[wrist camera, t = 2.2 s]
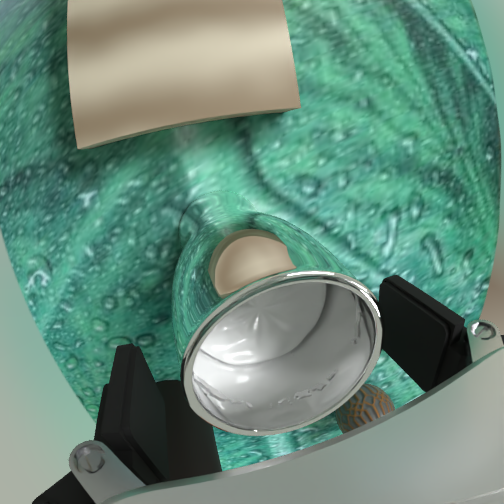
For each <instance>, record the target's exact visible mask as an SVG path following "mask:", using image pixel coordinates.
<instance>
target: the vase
mask: <svg viewBox="0 0 504 504" xmlns="http://www.w3.org/2000/svg"><path fill="white" fill-rule="evenodd" d="M394 410H395V408H394V405H393V402H392V401H391V399H390V398H389V396H388V395H387V394H386V393H385V392H384V391H383V390H382V389H380V388H378V387H377V386H374V385H371V384H363V385H362V386H361V387H360V389H359V390H358V391H357V392H356V393H355V394H354V395H353V396H352V397H351V398H350V399H349V400H348V401H346V402H345V403H344V404H343V405H342V406H340V407H339V408H338V409H336V410H335V414H336V420H337V424H338V426H339V428H340V430H341V431H342V433H343V434H344V433H347V432H349V431H351V430H354V429H356V428H358V427H361V426H363V425H365V424H367V423H369V422H371V421H373V420H376V419H378V418H380V417H382V416H384V415H386V414H388V413H390V412H392V411H394Z"/></svg>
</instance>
